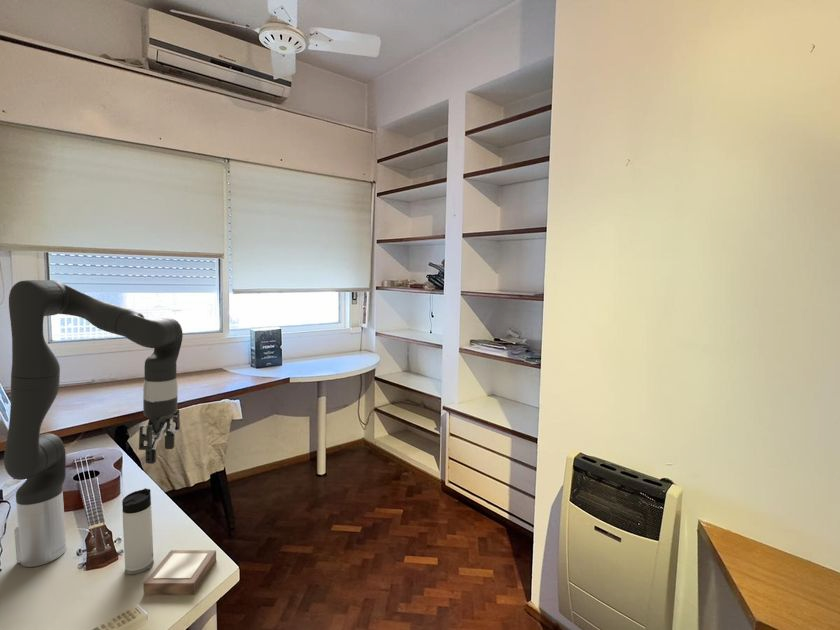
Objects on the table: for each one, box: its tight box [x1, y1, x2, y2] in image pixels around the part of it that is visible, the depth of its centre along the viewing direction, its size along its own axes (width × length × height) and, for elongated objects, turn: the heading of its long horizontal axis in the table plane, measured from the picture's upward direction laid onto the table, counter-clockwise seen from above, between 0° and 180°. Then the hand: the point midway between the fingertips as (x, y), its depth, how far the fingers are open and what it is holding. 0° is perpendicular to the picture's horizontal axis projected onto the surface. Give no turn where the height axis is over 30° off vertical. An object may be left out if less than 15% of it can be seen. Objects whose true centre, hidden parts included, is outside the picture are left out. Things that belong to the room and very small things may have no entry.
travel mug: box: [121, 487, 154, 575], centre depth 110 cm, size 6×7×20 cm
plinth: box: [142, 549, 217, 596], centre depth 107 cm, size 12×12×3 cm
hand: (160, 455), depth 109 cm, fingers open, 8 cm apart
